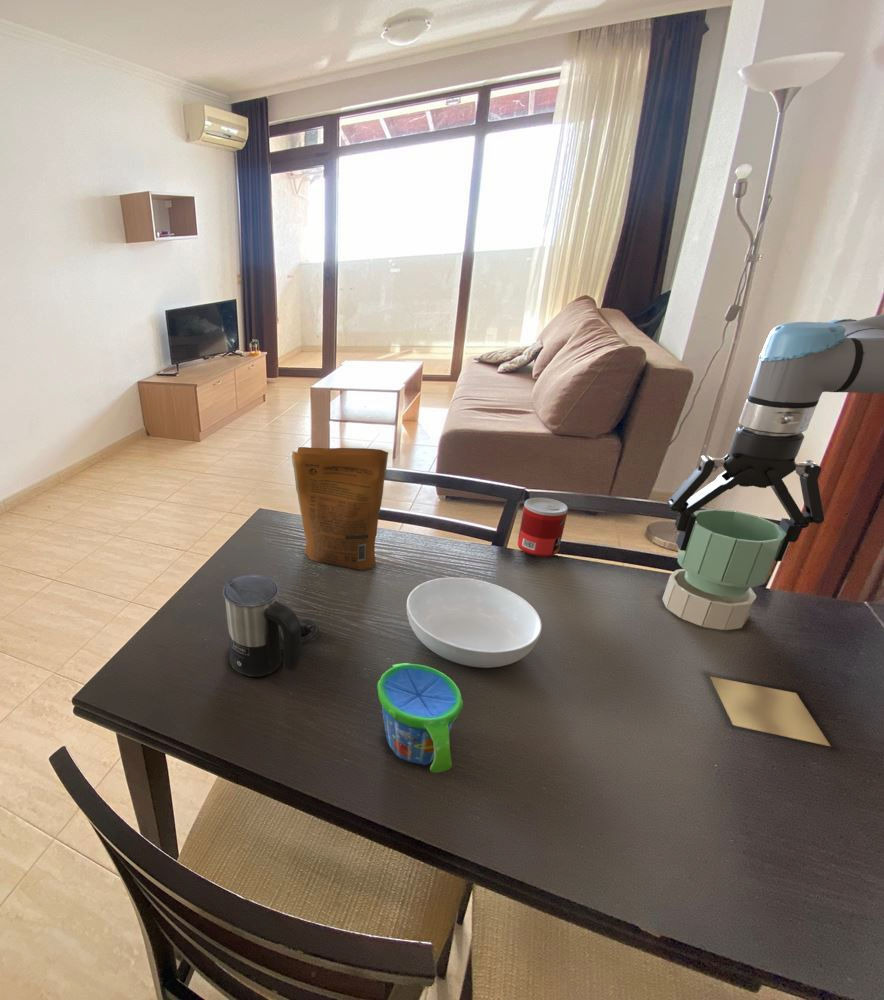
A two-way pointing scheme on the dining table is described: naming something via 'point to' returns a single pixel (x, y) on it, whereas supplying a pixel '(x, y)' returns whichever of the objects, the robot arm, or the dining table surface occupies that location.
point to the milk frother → (262, 627)
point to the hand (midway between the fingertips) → (726, 551)
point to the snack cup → (419, 713)
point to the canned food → (542, 526)
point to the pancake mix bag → (340, 503)
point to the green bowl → (730, 552)
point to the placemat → (768, 710)
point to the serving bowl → (473, 621)
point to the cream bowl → (706, 604)
